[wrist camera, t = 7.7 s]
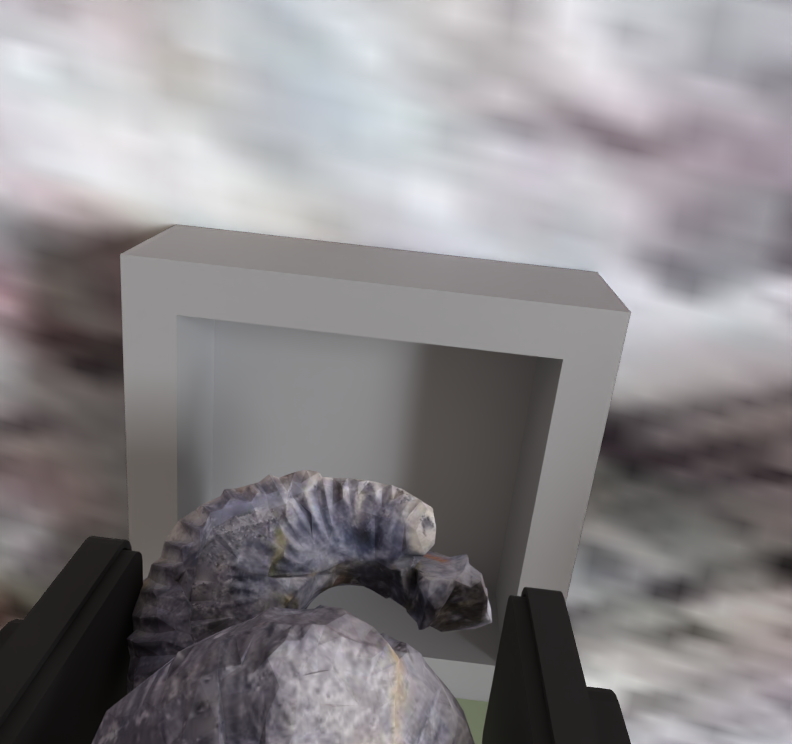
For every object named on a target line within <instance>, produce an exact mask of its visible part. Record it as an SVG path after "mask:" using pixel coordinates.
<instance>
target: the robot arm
mask: <svg viewBox="0 0 792 744" xmlns="http://www.w3.org/2000/svg"><path fill="white" fill-rule="evenodd" d="M142 586H143V560H142V554H141V553H140V552H139V551H132V547H131V544H130V542H129V541H128V540H121V539H112V538H104V537H95V536H91V537H89V538H88V539H87V540H85V542H84V543H83V544H82V545H81V547H80V548H79V549H78V551H77V552H76V553H75V554H74V556H73V557H72V558H71V560H70V561H69V562H68V563H67V565H66V566H65V567H64V569H63V570H62V571H61V572H60V574H59V575H58V576H57V578H56V579H55V580H54V581H53V583H52V584H51V585H50V587H49V588H48V589H47V590H46V592H45V593H44V594H43V596H42V597H41V598H40V599H39V601H38V602H37V603H36V604H35V606H34V607H33V608H32V610H31V611H30V612H29V613H28V615H27V616H26V617H25V619H24V620H19V619H15V620H13V621H10V622H9V623H8V624H7V625H6V626H5V627H4V628H2V629H1V631H0V744H92V742H93V739H94V737H95V735H96V733H97V731H98V728H99V726H100V724H101V722H102V720H103V717H104V715H105V713H106V711H107V710H108V709H110V708H111V707H112V706H113V705H115V704H116V703H117V702H118V701H120V700H121V699H122V698H123V697H125V696H126V695H127V675H128V669H129V663H130V654H129V649H128V642H127V639H126V638H128V637H129V636H130V635H131V634H132V633H133V632H134V630H133V622H132V613H133V610H134V608H135V605H136V602H137V600H138V597H139V594H140V590H141V588H142ZM482 744H631V742H630V739H629V735H628V732H627V729H626V725H625V722H624V719H623V715H622V712H621V708H620V705H619V702H618V700H617V697H616V695H615V693H614V692H613V691H612V690H611V689H602V688H594V687H586V683H585V679H584V675H583V671H582V667H581V663H580V659H579V655H578V651H577V647H576V643H575V639H574V635H573V631H572V627H571V623H570V619H569V615H568V611H567V607H566V603H565V599H564V596H563V593H562V592H561V591H556V590H548V589H539V588H531V587H524V588H523V590H522V593H521V596H514V595H510V596H509V598H508V601H507V606H506V612H505V617H504V622H503V628H502V633H501V638H500V644H499V649H498V654H497V659H496V665H495V670H494V675H493V681H492V686H491V691H490V697H489V702H488V707H487V713H486V718H485V723H484V729H483V736H482Z"/></svg>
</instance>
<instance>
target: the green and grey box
mask: <svg viewBox="0 0 792 744" xmlns="http://www.w3.org/2000/svg"><path fill="white" fill-rule="evenodd" d="M120 268H121V301H122V333H123V366H124V398H125V431H126V464H127V496H128V529H129V542H130V544H131V547H132V551H139V552H140V553H141V554H142V560H143V580H144V579H145V578H147V577H148V574H149V571H150V567H151V564H153V563H154V562H155V561H157V560H158V559H159V558H160V557H161V553H162V549H163V544H164V540H165V539H166V538H167V536H168V535H169V533H170V532H171V531H172V529H173V528H174V526H175V525H176V524H177V522H178V521H179V520H180V519H182V518H183V517H185V516H186V515H188V514H190V513H191V512H193V511H194V510H196V509H197V508H198V507H199V506H201V505H202V504H204V503H206V502H209V501H211V500H213V499H215V498H217V497H219V496H221V494H222V493H223V491H224V489H232V488H240V487H243V486H247V485H250V484H254V483H257V482H260V481H261V480H262V479H263V478H265V477H266V476H267V475H269V474H270V475H273V476H276V477H278V478H279V477H282V476H285V475H288V474H291V473H294V472H298V471H302V470H311V471H317V472H319V473H320V474H321V476H322V477H328V478H352V479H360V480H369V481H374V482H378V483H383V484H387V485H393V486H395V487H398V488H400V489H403V490H404V491H406V492H408V493H409V494H411V495H413V496H414V497H416V498H418V499H419V500H421V501H423V502H424V503H426V504H427V505H429V506H431V507H432V508H433V513H434V518H435V523H436V536H435V544H434V545H433V547H432V548H431V549H430V550H429V551H434V552H437V553H439V554H442V555H445V556H449V557H452V556H457V555H462V554H467V556H468V559H469V564H470V565H471V566H472V567H474V568H475V569H476V570H478V571H479V572H480V573H482V576H483V580H484V584H485V588H487V594H488V600H489V603H490V607H491V614H492V623H490V624H487V625H484V626H482V627H479V628H476V629H467V630H456V631H447V632H440V631H439V630H437V629H435V628H433V627H431V626H429V627H427V628H425V629H424V630H419V629H418V625H417V622H416V621H415V620H414V619H413V618H412V617H411V616H410V615H409V614H408V613H407V611H406V608H404V607H403V606H401V605H400V604H398V603H397V602H395V601H394V600H392V599H391V598H387V599H386V598H384V597H383V596H381V595H379V594H377V593H376V592H374V591H372V590H370V589H368V588H366V587H364V586H354V585H344V586H335V587H332V588H329V589H327V590H326V591H324V592H322V593H320V594H319V595H318V596H317V597H316V598H315V599H314V600H313V601H312V602H311V603H310V604H309V606H308V607H307V609H315V608H316V607H318V606H319V605H324V606H330V607H336V608H342V609H344V610H346V611H348V612H349V613H351V614H353V615H354V616H356V617H358V618H359V619H361V620H363V621H364V622H366V623H368V624H369V625H371V626H373V627H374V628H375V629H376V630H377V631H378V632H379V634H382V633H385V634H386V635H388V636H390V637H392V638H394V639H396V640H398V641H401V642H404V643H407V644H408V645H410V646H411V647H412V648H414V649H415V650H417V651H418V652H419V653H421V655H422V656H423V658H424V660H425V662H426V663H427V664H428V665H429V667H430V668H431V669H432V670H433V671H434V673H435V674H436V675H437V676H438V677H439V678H440V679H441V681H442V682H443V683H444V684H445V685H446V686H447V688H448V689H449V690H450V692H451V693H452V694H453V696H454V697H455V698H456V700H457V701H458V703H459V704H460V706H461V708H462V709H463V711H464V713H465V716H466V719H467V722H468V725H469V728H470V731H471V734H472V737H473V740H474V743H475V744H482V736H483V729H484V723H485V718H486V713H487V707H488V702H489V697H490V691H491V686H492V681H493V675H494V670H495V665H496V659H497V654H498V649H499V644H500V638H501V633H502V628H503V622H504V617H505V612H506V606H507V601H508V598H509V596H510V595H514V596H521V593H522V590H523V588H524V587H531V588H539V589H548V590H556V591H561V592H562V593H563V596H564V599H565V603H566V599H567V595H568V590H569V586H570V581H571V577H572V572H573V568H574V564H575V559H576V555H577V550H578V546H579V541H580V537H581V532H582V528H583V523H584V519H585V515H586V510H587V506H588V501H589V497H590V492H591V488H592V483H593V479H594V474H595V470H596V465H597V461H598V457H599V452H600V448H601V443H602V439H603V434H604V430H605V425H606V421H607V416H608V412H609V408H610V403H611V399H612V394H613V390H614V385H615V381H616V376H617V372H618V367H619V363H620V358H621V354H622V350H623V345H624V341H625V336H626V332H627V327H628V323H629V318H630V314H631V312H630V311H629V310H628V308H627V307H626V306H625V305H624V304H623V302H622V301H621V300H620V299H619V298H618V296H617V295H616V294H615V293H614V292H613V290H612V289H611V288H610V287H609V286H608V284H607V283H606V282H605V281H604V280H603V278H602V277H601V276H600V275H599V274H598V272H591V271H582V270H573V269H564V268H555V267H546V266H538V265H529V264H520V263H511V262H502V261H493V260H485V259H476V258H467V257H458V256H449V255H441V254H432V253H423V252H414V251H405V250H396V249H388V248H379V247H370V246H361V245H352V244H343V243H335V242H326V241H317V240H308V239H299V238H291V237H282V236H273V235H264V234H255V233H246V232H238V231H229V230H220V229H211V228H202V227H193V226H185V225H174V226H172V227H170V228H169V229H167V230H165V231H163V232H161V233H159V234H157V235H155V236H153V237H152V238H150V239H148V240H146V241H144V242H142V243H140V244H138V245H136V246H135V247H133V248H131V249H129V250H127V251H125V252H123V253H121V254H120Z"/></svg>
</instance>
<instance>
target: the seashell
mask: <svg viewBox="0 0 792 744" xmlns="http://www.w3.org/2000/svg"><path fill="white" fill-rule="evenodd" d="M435 536H436V523H435V518H434V513H433V508H432V507H431V506H429V505H427V504H426V503H424V502H423V501H421V500H419V499H418V498H416V497H414V496H413V495H411V494H409V493H408V492H406V491H404V490H403V489H400V488H398V487H395V486H393V485H387V484H383V483H378V482H374V481H369V480H360V479H352V478H328V477H322V476H321V474H320V473H319V472H317V471H311V470H302V471H298V472H294V473H291V474H288V475H285V476H282V477H279V478H278V477H276V476H273V475H270V474H269V475H267V476H266V477H265V478H263V479H262V480H261V481H260V482H257V483H254V484H250V485H247V486H243V487H240V488H232V489H224V491H223V493H222V494H221V496H219V497H217V498H215V499H213V500H211V501H209V502H206V503H204V504H202V505H201V506H199V507H198V508H197V509H196V510H194V511H193V512H191V513H190V514H188V515H186V516H185V517H183V518H182V519H180V520H179V521H178V522H177V524H176V525H175V526H174V528H173V529H172V531H171V532H170V533H169V535H168V536H167V538H166V539H165V540H164V544H163V549H162V553H161V557H160V558H159V559H158V560H157V561H155V562H154V563H153V564H151V567H150V571H149V574H148V577H147V578H145V579H144V580H143V586H142V588H141V590H140V594H139V597H138V600H137V602H136V605H135V608H134V610H133V613H132V622H133V630H134V632H133V633H132V634H131V635H130V636H129V637H128V638H126V639H127V642H128V649H129V654H130V663H129V669H128V675H127V695H126V696H125V697H123V698H122V699H121V700H120V701H118V702H117V703H116V704H115V705H113V706H112V707H111V708H110V709H108V710H107V711H106V713H105V715H104V717H103V720H102V722H101V724H100V726H99V728H98V731H97V733H96V735H95V737H94V739H93V742H92V744H475V743H474V740H473V737H472V734H471V731H470V728H469V725H468V722H467V719H466V716H465V713H464V711H463V709H462V708H461V706H460V704H459V703H458V701H457V700H456V698H455V697H454V696H453V694H452V693H451V692H450V690H449V689H448V688H447V686H446V685H445V684H444V683H443V682H442V681H441V679H440V678H439V677H438V676H437V675H436V674H435V673H434V671H433V670H432V669H431V668H430V667H429V665H428V664H427V663H426V662H425V660H424V658H423V656H422V655H421V653H419V652H418V651H417V650H415V649H414V648H412V647H411V646H410V645H408V644H407V643H404V642H401V641H398V640H396V639H394V638H392V637H390V636H388V635H386V634H385V633H382V634H379V632H378V631H377V630H376V629H375V628H374V627H373V626H371V625H369V624H368V623H366V622H364V621H363V620H361V619H359V618H358V617H356V616H354V615H353V614H351V613H349V612H348V611H346V610H344V609H342V608H336V607H330V606H324V605H319V606H318V607H316V608H315V609H307V607H308V606H309V604H310V603H311V602H312V601H313V600H314V599H315V598H316V597H317V596H318V595H319V594H320V593H322V592H324V591H326V590H327V589H329V588H332V587H335V586H344V585H354V586H364V587H366V588H368V589H370V590H372V591H374V592H376V593H377V594H379V595H381V596H383V597H384V598H386V599H387V598H391V599H392V600H394V601H395V602H397V603H398V604H400V605H401V606H403V607H404V608H406V611H407V613H408V614H409V615H410V616H411V617H412V618H413V619H414V620H415V621H416V622H417V625H418V629H419V630H424V629H425V628H427V627H429V626H431V627H433V628H435V629H437V630H439V631H440V632H447V631H456V630H467V629H476V628H479V627H482V626H484V625H487V624H490V623H492V614H491V607H490V603H489V600H488V594H487V588H485V584H484V580H483V576H482V573H480V572H479V571H478V570H476V569H475V568H474V567H472V566H471V565H470V564H469V559H468V556H467V554H462V555H457V556H452V557H449V556H445V555H442V554H439V553H437V552H434V551H429V550H430V549H431V548H432V547H433V545H434V544H435Z"/></svg>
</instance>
